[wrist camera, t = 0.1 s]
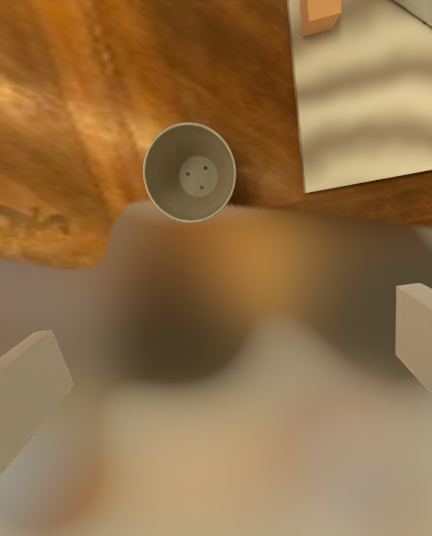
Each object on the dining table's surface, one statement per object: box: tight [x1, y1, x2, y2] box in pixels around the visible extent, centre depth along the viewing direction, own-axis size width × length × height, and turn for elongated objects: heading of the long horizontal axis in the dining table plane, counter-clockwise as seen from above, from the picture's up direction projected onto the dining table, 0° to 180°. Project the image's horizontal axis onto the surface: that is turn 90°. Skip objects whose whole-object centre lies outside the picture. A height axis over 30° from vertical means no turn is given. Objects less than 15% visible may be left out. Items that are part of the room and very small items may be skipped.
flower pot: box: [143, 122, 236, 223], centre depth 32 cm, size 10×10×7 cm
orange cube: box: [299, 0, 341, 37], centre depth 27 cm, size 3×3×3 cm
